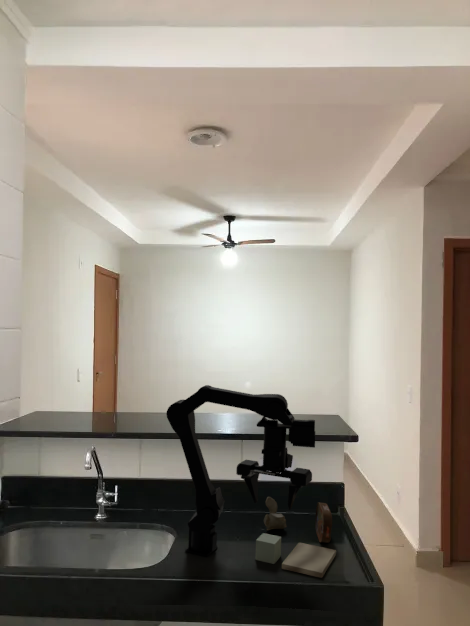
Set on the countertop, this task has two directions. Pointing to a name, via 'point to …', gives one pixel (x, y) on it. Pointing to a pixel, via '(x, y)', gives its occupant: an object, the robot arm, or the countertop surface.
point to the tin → (323, 522)
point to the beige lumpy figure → (273, 516)
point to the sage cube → (268, 548)
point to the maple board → (309, 559)
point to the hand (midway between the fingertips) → (272, 506)
